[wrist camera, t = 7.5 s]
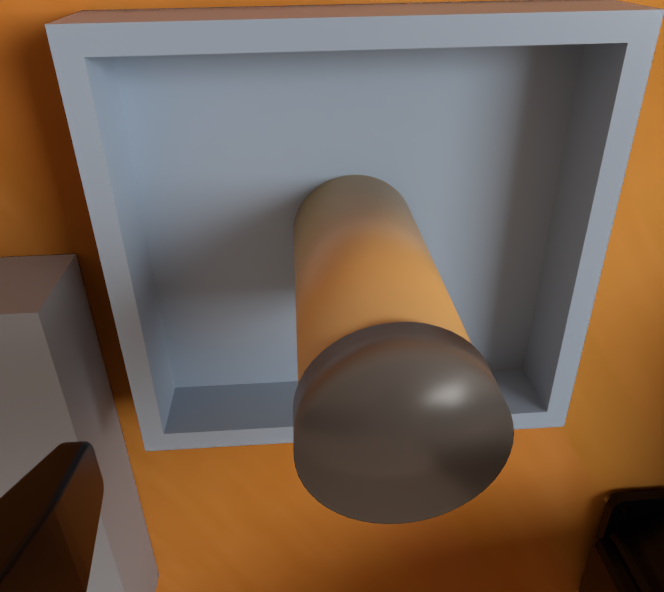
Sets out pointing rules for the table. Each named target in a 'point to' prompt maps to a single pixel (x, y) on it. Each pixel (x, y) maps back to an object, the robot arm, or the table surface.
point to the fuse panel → (67, 407)
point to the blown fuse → (385, 366)
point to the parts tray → (339, 160)
